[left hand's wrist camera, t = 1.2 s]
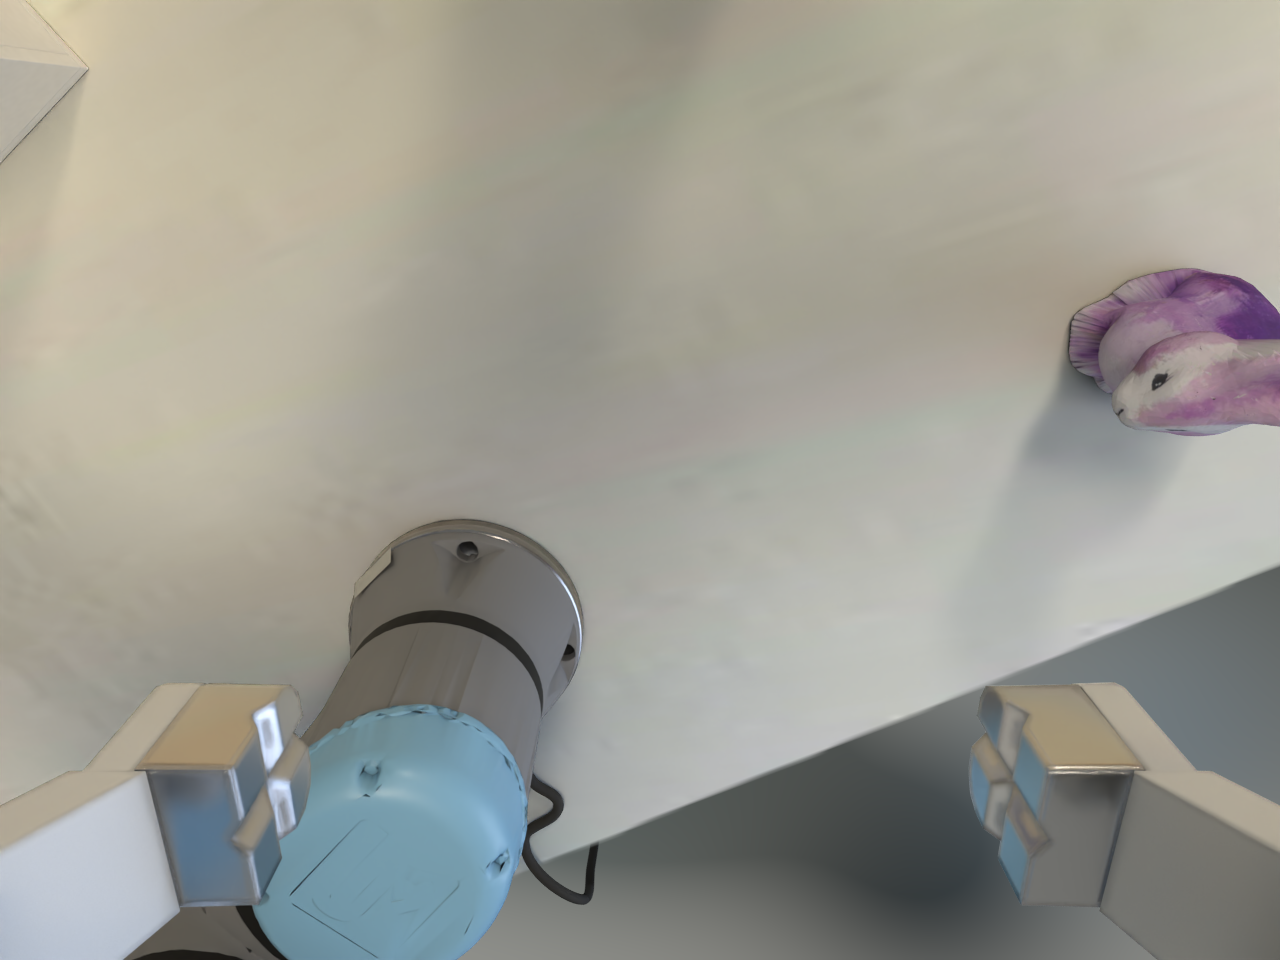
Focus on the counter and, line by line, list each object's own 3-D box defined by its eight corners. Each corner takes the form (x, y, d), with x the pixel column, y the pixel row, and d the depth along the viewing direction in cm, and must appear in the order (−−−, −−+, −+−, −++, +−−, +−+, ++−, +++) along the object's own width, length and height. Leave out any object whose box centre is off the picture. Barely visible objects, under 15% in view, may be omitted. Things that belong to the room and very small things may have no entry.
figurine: (1024, 356, 54) (1158, 435, 40) (1160, 221, 51) (1357, 254, 37) (1124, 451, 56) (1286, 558, 42) (1261, 327, 53) (1483, 396, 39)
